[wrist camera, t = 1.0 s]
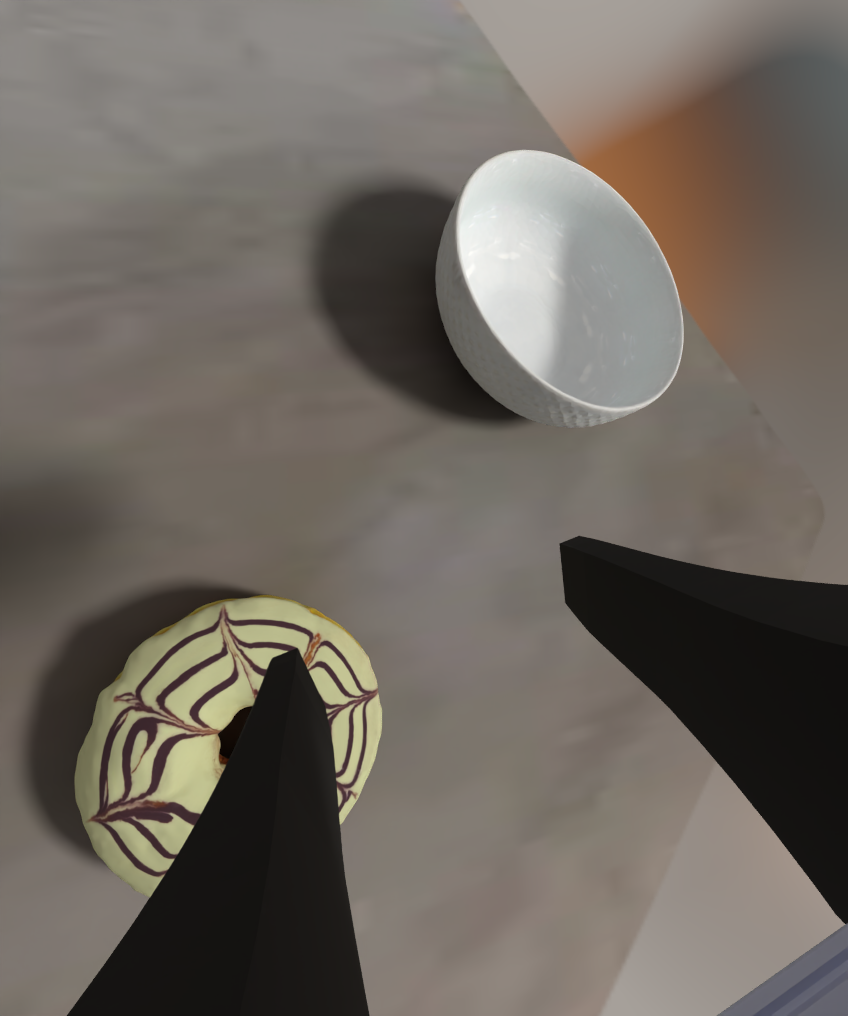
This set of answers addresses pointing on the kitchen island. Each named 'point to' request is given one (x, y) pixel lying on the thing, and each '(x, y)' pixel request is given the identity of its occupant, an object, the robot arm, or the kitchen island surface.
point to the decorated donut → (208, 724)
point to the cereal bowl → (556, 293)
